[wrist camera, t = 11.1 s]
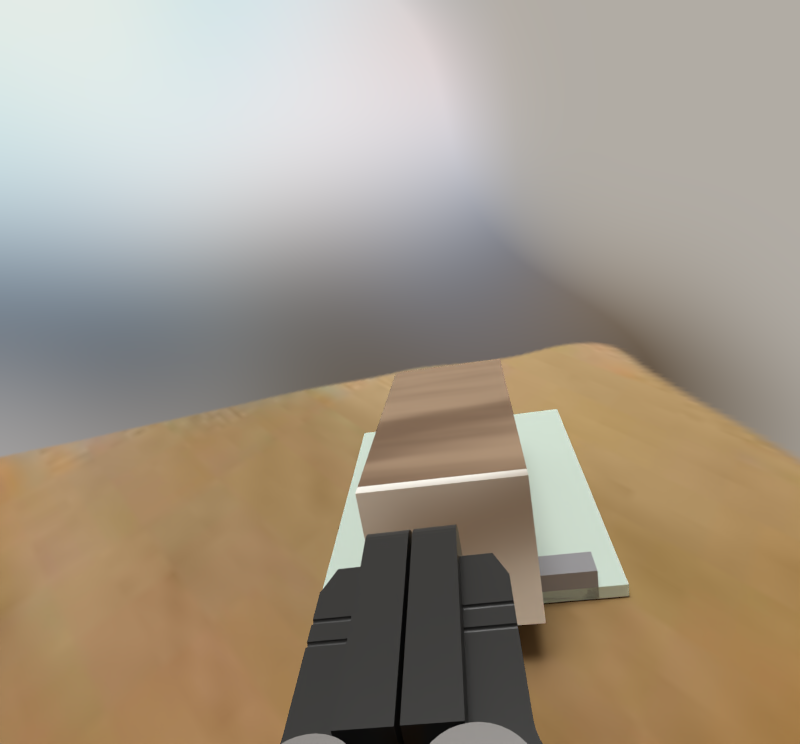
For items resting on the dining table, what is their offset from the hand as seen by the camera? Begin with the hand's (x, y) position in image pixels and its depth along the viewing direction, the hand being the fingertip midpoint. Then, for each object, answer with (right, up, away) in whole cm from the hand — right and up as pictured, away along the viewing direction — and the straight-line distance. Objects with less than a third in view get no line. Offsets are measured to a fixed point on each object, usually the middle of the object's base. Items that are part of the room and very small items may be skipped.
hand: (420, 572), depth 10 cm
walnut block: (+1, -2, +8) cm, 8 cm away
